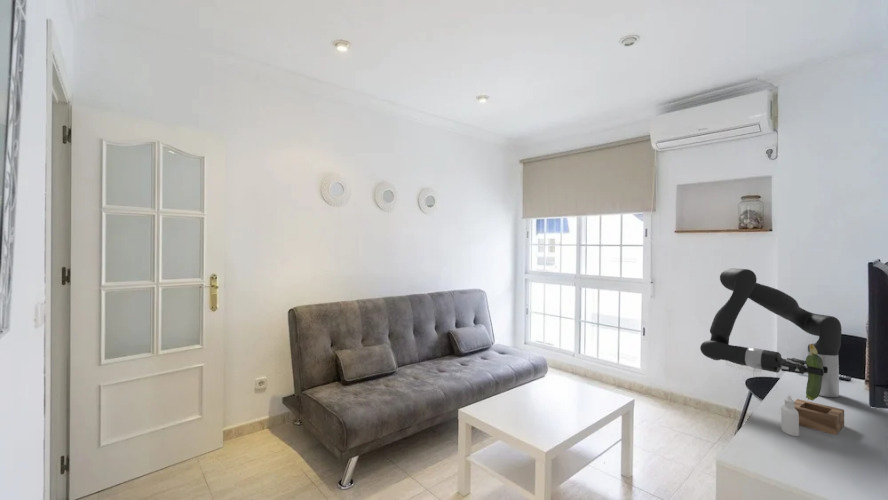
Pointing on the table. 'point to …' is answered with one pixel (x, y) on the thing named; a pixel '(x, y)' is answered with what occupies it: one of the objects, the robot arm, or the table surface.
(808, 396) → the vegetable
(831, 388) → the robot arm
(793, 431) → the eye dropper bottle
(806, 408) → the socket
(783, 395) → the table surface
